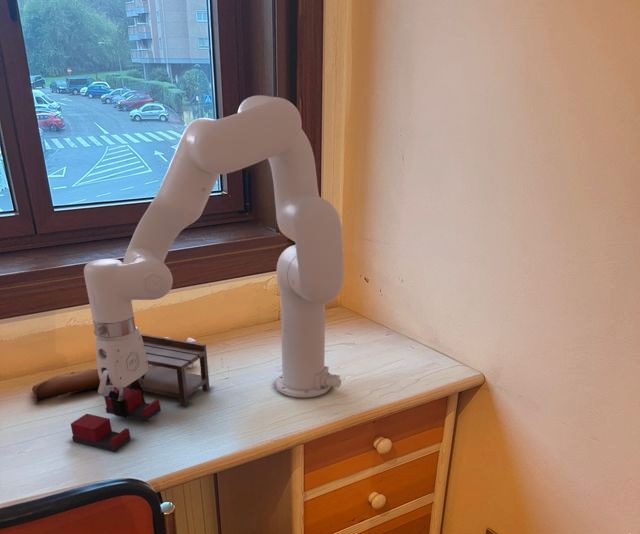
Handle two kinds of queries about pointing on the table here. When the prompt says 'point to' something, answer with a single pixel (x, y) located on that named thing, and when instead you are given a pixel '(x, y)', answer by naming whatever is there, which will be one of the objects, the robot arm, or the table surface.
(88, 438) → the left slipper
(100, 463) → the table surface
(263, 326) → the table surface
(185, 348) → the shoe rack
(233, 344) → the table surface
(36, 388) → the sunglasses case
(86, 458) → the table surface
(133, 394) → the right slipper
